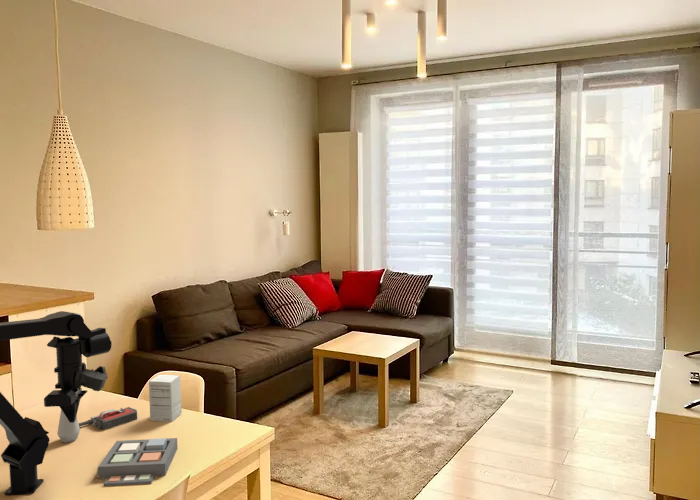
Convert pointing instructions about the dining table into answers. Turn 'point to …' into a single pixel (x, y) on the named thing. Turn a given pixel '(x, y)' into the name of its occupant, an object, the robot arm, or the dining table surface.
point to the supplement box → (165, 398)
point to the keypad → (136, 464)
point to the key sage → (122, 458)
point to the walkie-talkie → (112, 418)
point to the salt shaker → (67, 429)
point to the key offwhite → (129, 447)
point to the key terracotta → (150, 457)
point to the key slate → (156, 444)
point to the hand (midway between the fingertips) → (72, 422)
